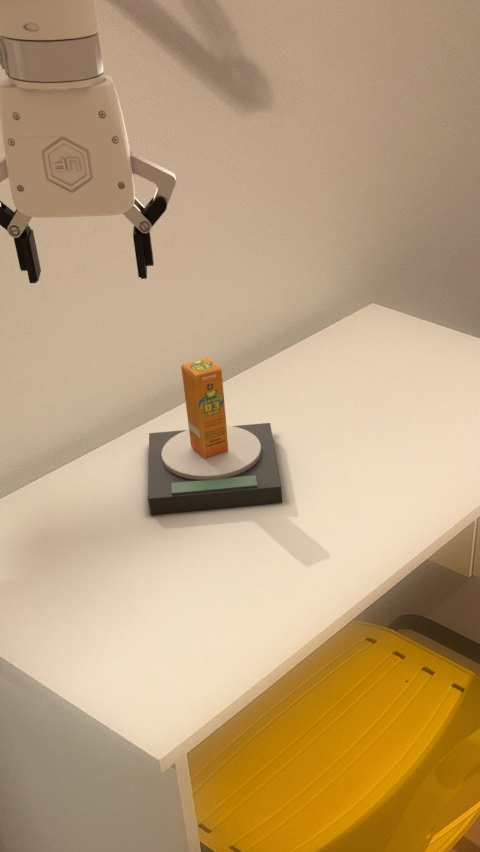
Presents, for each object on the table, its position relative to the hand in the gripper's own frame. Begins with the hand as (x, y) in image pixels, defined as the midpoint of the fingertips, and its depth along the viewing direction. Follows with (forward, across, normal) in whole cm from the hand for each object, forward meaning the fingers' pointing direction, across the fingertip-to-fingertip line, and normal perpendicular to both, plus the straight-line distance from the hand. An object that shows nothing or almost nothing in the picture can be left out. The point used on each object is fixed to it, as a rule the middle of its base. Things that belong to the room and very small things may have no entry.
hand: (89, 275), depth 88 cm
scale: (+24, +10, +4) cm, 26 cm away
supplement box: (+22, +9, +5) cm, 24 cm away
